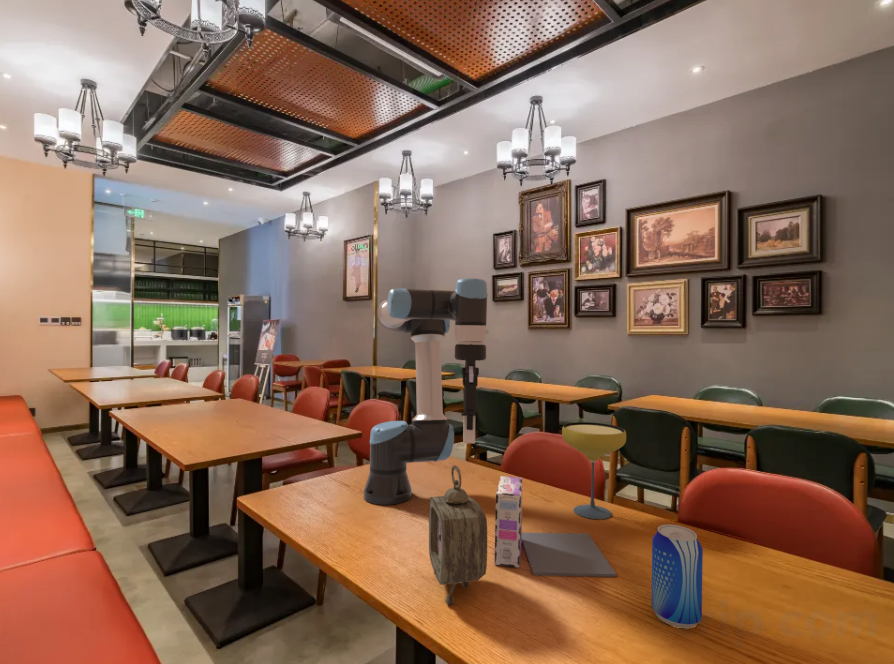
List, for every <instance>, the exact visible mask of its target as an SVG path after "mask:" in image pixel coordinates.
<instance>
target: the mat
mask: <svg viewBox="0 0 894 664" xmlns="http://www.w3.org/2000/svg"><path fill="white" fill-rule="evenodd" d="M521 545H523V549H524V553H525V555H526V558H527V561H528V563H529V567H530V569H531V572H532V575H533V576H552V577H553V576H557V577H559V576H560V577H562V576H563V577H603V578H604V577H607V578H610V577H611V578H612V577H614V578H615V577H616V578H617V573H616V571H615V570H614V568H613V567H612V566H611V564H610V563H609V561H608V559H607V558H606V557H605V556H604V554H603V552H601V549H600V548H599V547H598V546H597V544H596V542H595V541H594V539H593V538H592V537H591V535H590V534H589V533H577V532H576V533H575V532H574V533H572V532H571V533H570V532H565V533H564V532H525V531H524V532H522V539H521Z"/></svg>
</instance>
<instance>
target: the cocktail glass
mask: <svg viewBox="0 0 894 664" xmlns="http://www.w3.org/2000/svg"><path fill="white" fill-rule="evenodd" d="M561 436H562V439H563V441H564V442H565V443H566V444H567V445H568V446H570V447H572V448H573V449H575V450H576V451H578V452H579V453H581V454H583V455H584V456H585V457H586V459H587V460H588V461H589V462H590V463H591V490H590V491H591V492H590V493H591V494H590V503H589V504H580V505H579V506H578V505H576V506H574V507H575V508H574V507H573V512H574V513H575V514H576V513H577V514H578V515H577V514H576V515H577V516H579V515H580V516H579V517H581V516H583V517H582V518H584V517H585V518H584V519H588V518H590V519H589V520H594V519H603V520H607V518H608V519H610V518H612V514H611V513H612V512H611V511H610V510H609V509H608V508H606V507H603V506H599V505H596V503H595V463H597V462H598V461H599V460H600V458H602V456H605V455H608V454H610V453H614V452H615V451H618V450H620V449H621V448H622V447H624V445H626V441H627V431H626V430H625V429H624V428H622V427H621V426H617V425H614V424H607V423H601V422H587V421H580V422H579V421H577V422H569V423H565V424H563V426H562V429H561ZM609 517H610V518H609Z"/></svg>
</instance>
